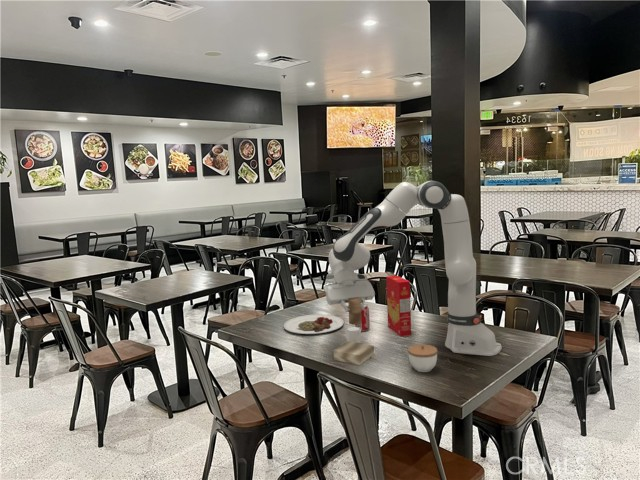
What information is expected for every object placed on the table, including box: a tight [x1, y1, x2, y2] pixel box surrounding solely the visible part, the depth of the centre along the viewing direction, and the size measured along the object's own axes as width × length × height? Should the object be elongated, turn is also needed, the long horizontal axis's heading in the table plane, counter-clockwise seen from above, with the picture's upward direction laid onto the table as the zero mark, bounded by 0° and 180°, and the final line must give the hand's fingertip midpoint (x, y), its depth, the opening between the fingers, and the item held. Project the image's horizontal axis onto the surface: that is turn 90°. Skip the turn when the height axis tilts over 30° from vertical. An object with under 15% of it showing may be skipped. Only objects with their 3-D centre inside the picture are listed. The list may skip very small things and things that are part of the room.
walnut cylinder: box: [347, 297, 362, 326], centre depth 192 cm, size 5×5×10 cm
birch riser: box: [333, 341, 375, 366], centre depth 194 cm, size 12×12×4 cm
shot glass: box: [344, 326, 362, 343], centre depth 209 cm, size 7×7×7 cm
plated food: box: [283, 313, 345, 335], centre depth 237 cm, size 30×30×3 cm
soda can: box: [354, 303, 371, 332], centre depth 228 cm, size 7×7×12 cm
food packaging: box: [385, 274, 412, 337], centre depth 222 cm, size 15×5×25 cm, turn 14°
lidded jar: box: [407, 343, 438, 373], centre depth 179 cm, size 11×11×9 cm
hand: (355, 310), depth 191 cm, fingers closed on walnut cylinder, 5 cm apart
